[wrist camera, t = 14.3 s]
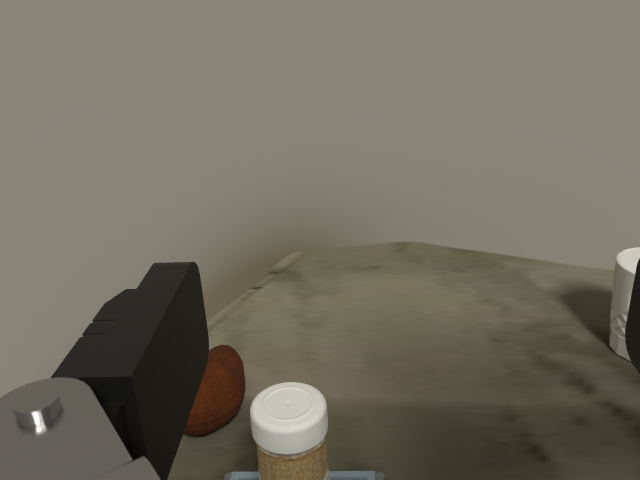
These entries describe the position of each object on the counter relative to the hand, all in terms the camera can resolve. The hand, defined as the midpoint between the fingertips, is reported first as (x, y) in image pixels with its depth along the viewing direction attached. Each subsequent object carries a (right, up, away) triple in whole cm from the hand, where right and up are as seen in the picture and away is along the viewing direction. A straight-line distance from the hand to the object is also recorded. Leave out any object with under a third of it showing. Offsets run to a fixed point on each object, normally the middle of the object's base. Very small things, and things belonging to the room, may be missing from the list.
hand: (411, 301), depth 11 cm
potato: (-12, -16, +46) cm, 50 cm away
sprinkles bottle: (-3, -21, +30) cm, 37 cm away
